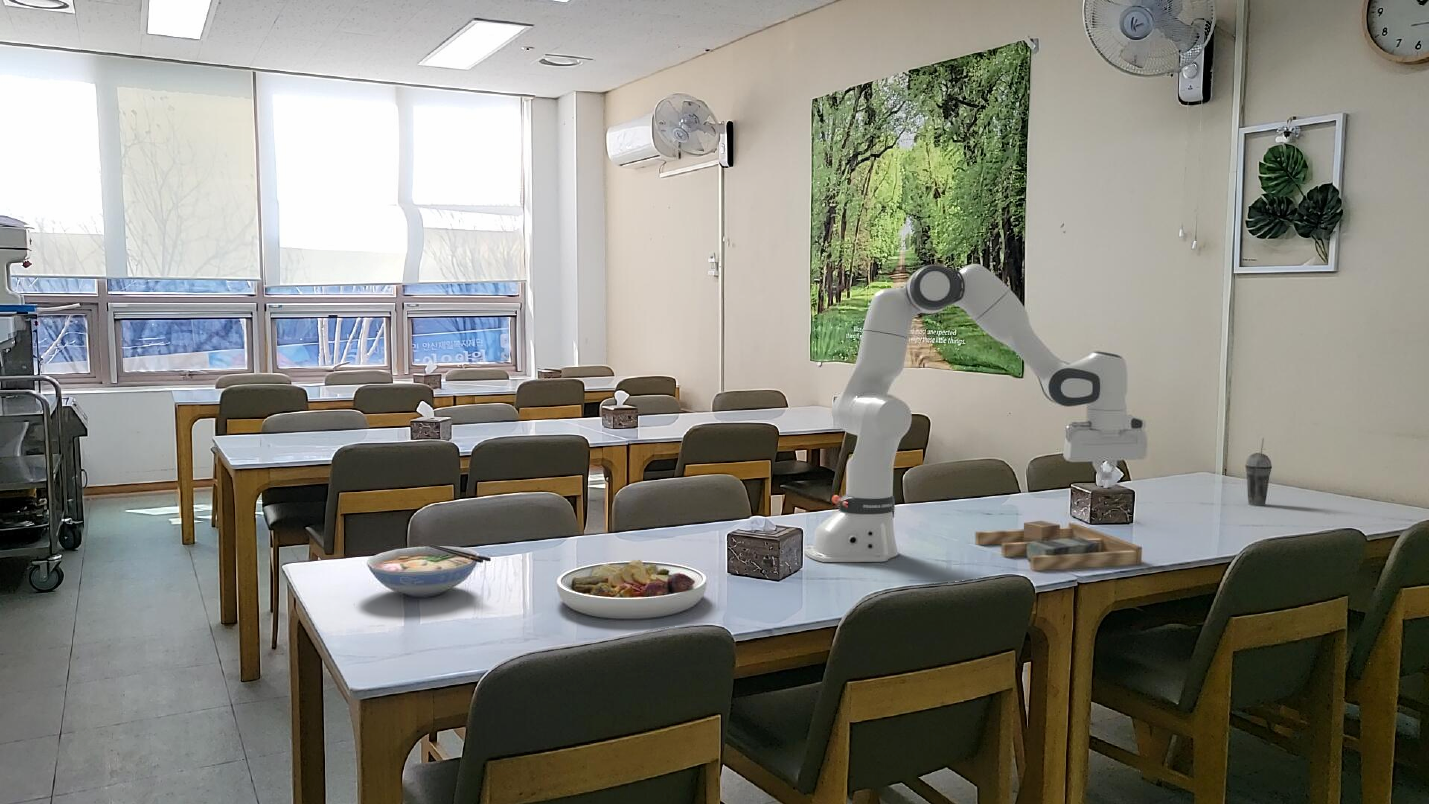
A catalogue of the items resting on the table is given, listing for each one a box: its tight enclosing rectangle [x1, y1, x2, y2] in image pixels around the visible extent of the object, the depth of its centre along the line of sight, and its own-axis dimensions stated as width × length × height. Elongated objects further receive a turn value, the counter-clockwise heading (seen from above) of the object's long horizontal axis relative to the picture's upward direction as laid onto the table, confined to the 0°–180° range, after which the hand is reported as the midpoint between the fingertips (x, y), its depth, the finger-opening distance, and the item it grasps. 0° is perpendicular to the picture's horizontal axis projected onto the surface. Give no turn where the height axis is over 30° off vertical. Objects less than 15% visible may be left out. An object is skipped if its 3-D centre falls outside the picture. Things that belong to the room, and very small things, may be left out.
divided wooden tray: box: [974, 522, 1143, 572], centre depth 262 cm, size 28×28×4 cm
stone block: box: [1026, 537, 1099, 562], centre depth 254 cm, size 9×14×5 cm, turn 107°
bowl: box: [556, 559, 708, 620], centre depth 220 cm, size 30×30×8 cm
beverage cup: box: [1244, 438, 1273, 507], centre depth 326 cm, size 7×7×20 cm
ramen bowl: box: [366, 541, 491, 598], centre depth 226 cm, size 25×23×8 cm
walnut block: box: [1023, 520, 1061, 542], centre depth 269 cm, size 6×6×6 cm
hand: (1104, 479), depth 256 cm, fingers closed
